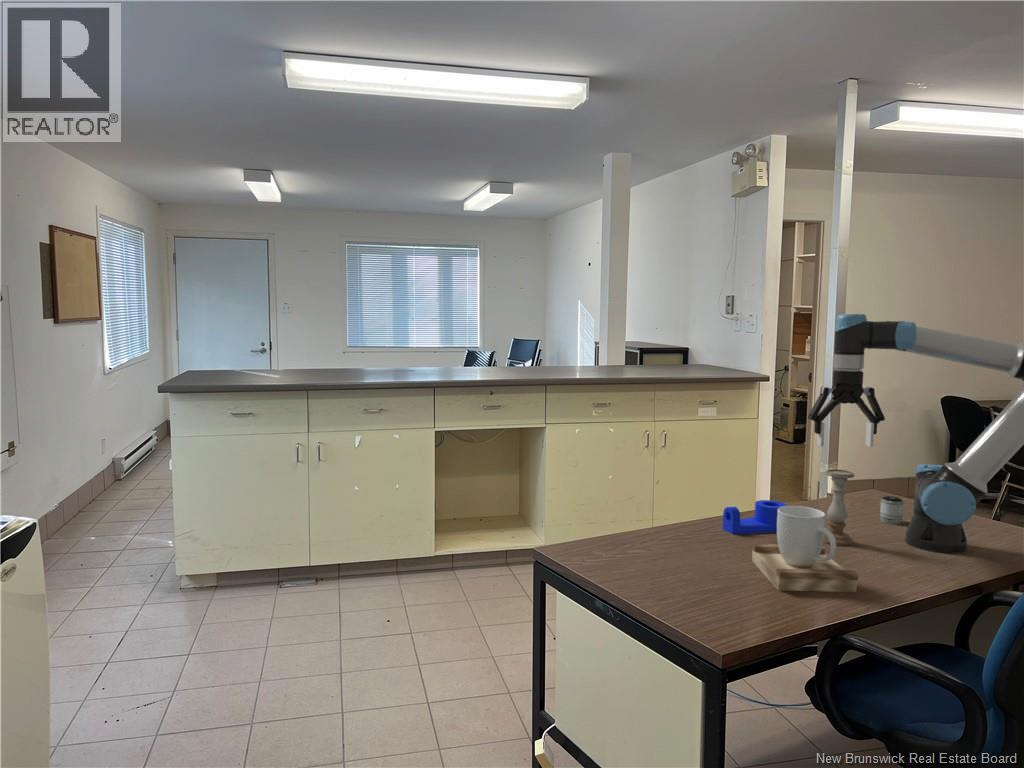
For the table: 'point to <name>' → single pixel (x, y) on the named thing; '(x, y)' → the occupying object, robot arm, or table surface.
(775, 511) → the bracket
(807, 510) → the mug
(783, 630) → the table surface
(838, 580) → the wooden tray
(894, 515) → the camera lens
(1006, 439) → the robot arm
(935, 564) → the table surface
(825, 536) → the candle holder
